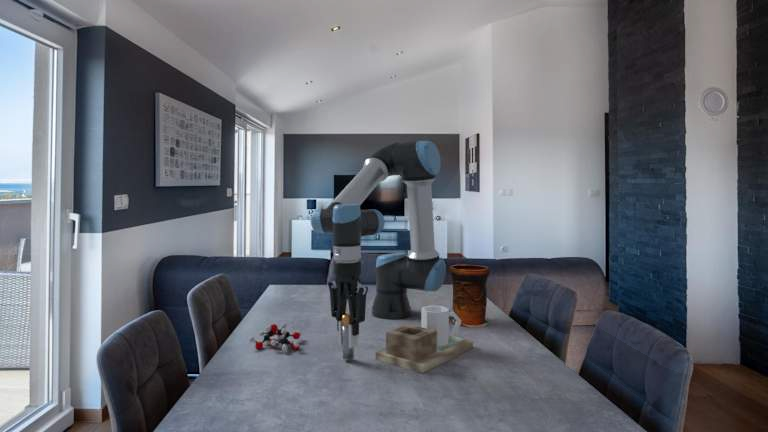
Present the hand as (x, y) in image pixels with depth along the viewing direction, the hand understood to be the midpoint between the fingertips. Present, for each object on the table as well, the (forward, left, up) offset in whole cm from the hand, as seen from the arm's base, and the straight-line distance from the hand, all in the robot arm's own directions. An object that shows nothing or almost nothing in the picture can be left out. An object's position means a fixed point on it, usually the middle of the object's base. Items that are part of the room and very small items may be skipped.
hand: (348, 344), depth 128 cm
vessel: (+6, +56, -5) cm, 56 cm away
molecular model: (-25, -4, -5) cm, 26 cm away
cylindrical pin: (0, 0, -4) cm, 4 cm away
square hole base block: (+13, +19, -4) cm, 23 cm away
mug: (+14, +25, -2) cm, 29 cm away
